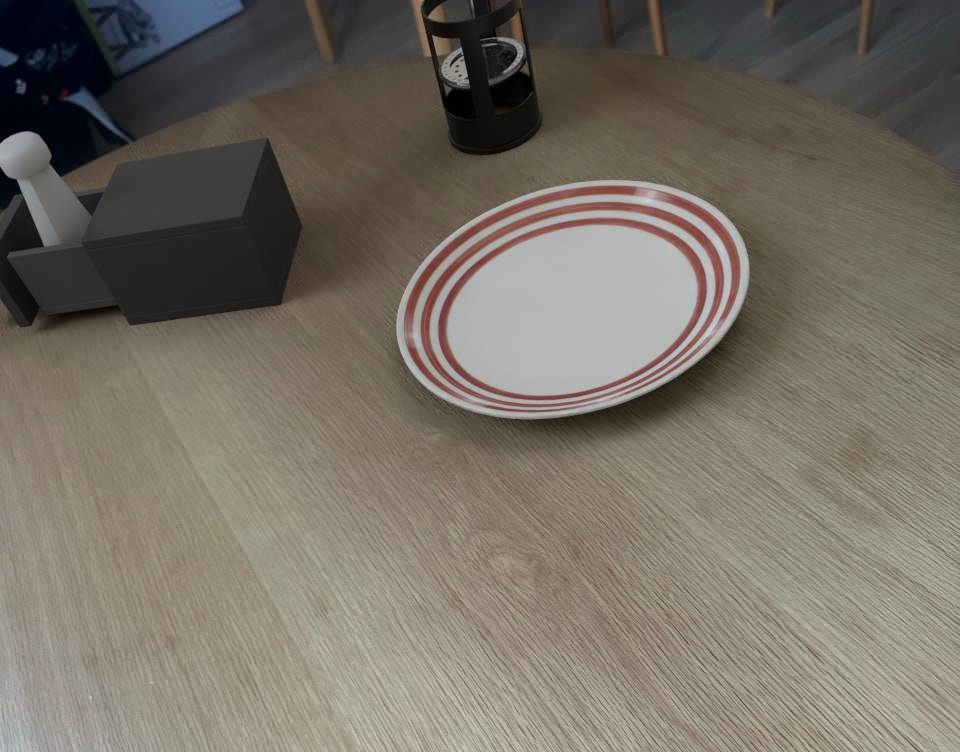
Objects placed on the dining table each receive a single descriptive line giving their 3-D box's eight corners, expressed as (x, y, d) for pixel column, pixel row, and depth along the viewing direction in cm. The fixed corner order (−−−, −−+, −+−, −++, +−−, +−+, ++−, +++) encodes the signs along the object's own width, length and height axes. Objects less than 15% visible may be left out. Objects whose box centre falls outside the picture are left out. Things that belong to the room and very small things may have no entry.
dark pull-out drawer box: (-38, 336, 97) (-86, 274, 91) (-1, 266, 103) (-44, 204, 97) (152, 309, 93) (114, 242, 87) (179, 238, 99) (145, 172, 93)
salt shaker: (100, 294, 94) (19, 162, 83) (53, 290, 96) (-32, 160, 85) (133, 254, 96) (59, 121, 86) (86, 251, 99) (8, 121, 88)
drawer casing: (129, 325, 94) (79, 241, 87) (160, 247, 100) (116, 163, 93) (280, 304, 91) (241, 216, 84) (302, 225, 97) (267, 136, 90)
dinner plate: (543, 503, 71) (535, 469, 68) (344, 335, 86) (331, 303, 83) (828, 300, 76) (831, 261, 74) (593, 176, 92) (588, 141, 89)
